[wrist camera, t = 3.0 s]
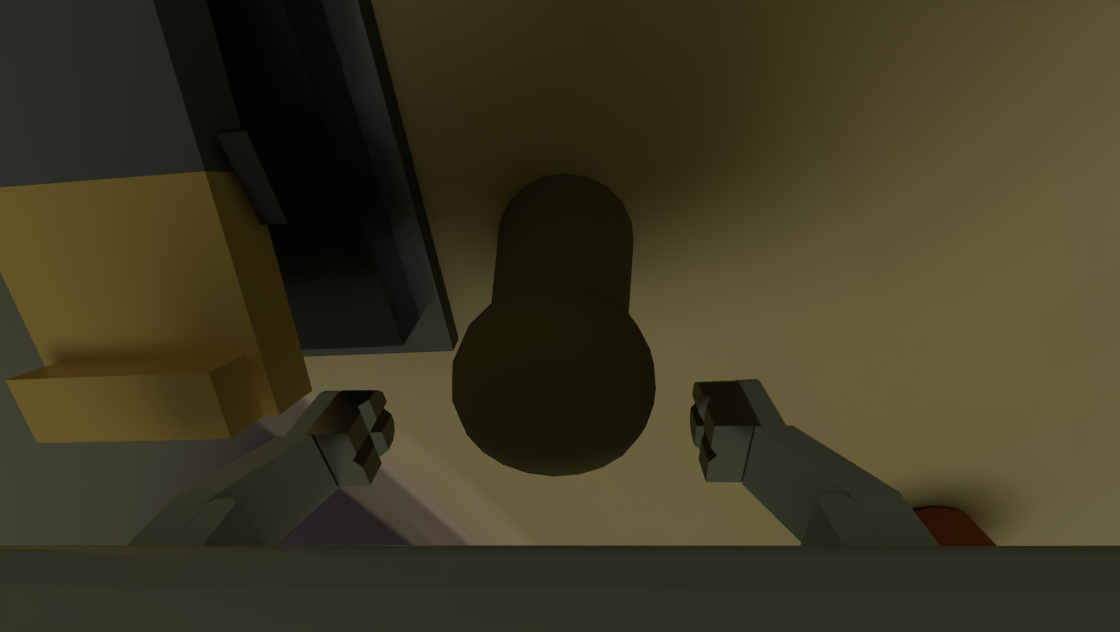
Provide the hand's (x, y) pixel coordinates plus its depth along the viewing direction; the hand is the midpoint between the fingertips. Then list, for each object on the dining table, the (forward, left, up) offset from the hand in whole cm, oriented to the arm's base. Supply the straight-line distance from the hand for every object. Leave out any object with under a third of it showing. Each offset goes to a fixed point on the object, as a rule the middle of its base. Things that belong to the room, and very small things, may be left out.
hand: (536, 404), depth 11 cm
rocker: (-6, -11, -4) cm, 13 cm away
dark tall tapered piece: (-1, +1, -10) cm, 10 cm away
